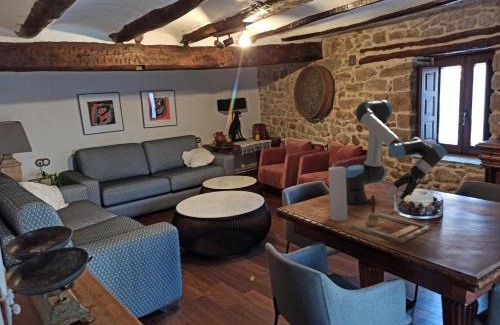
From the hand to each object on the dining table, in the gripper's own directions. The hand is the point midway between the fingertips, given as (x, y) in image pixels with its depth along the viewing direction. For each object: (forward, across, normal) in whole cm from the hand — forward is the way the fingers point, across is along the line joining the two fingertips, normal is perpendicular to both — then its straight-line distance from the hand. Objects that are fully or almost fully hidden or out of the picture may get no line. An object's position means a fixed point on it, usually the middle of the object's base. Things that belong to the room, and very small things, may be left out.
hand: (391, 199), depth 195 cm
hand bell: (+16, +1, -3) cm, 17 cm away
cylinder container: (+28, +12, +9) cm, 32 cm away
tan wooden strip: (+8, -14, -10) cm, 19 cm away
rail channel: (+12, -7, -7) cm, 16 cm away
